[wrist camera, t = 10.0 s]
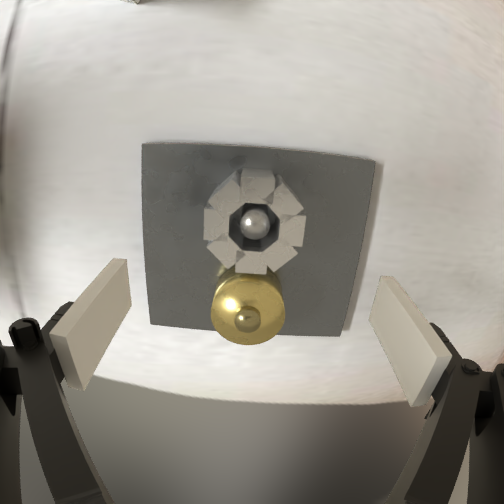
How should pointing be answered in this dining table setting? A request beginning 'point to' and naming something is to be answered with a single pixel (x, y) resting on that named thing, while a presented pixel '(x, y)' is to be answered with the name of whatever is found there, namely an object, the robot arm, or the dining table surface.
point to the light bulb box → (132, 1)
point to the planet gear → (229, 232)
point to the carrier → (253, 227)
